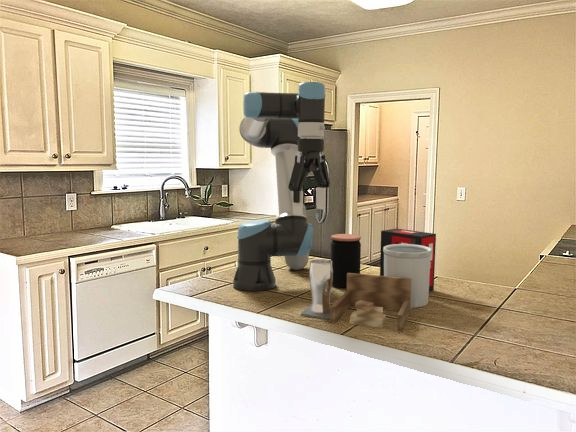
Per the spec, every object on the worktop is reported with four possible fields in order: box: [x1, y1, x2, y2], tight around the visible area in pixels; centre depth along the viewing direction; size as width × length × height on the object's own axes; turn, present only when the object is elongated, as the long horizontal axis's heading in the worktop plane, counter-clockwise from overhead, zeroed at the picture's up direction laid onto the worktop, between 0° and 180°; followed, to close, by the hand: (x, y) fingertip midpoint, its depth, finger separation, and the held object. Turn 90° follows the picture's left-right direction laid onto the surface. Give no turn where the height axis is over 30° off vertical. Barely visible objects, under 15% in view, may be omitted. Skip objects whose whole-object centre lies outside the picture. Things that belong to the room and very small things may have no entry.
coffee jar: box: [330, 233, 362, 290], centre depth 170 cm, size 11×11×18 cm
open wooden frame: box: [330, 273, 411, 333], centre depth 136 cm, size 19×19×10 cm
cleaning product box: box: [379, 227, 437, 293], centre depth 167 cm, size 16×9×20 cm, turn 41°
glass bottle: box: [284, 203, 310, 271], centre depth 194 cm, size 10×10×28 cm
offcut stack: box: [349, 300, 387, 329], centre depth 131 cm, size 9×5×6 cm, turn 69°
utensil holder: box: [383, 244, 432, 309], centre depth 150 cm, size 15×15×18 cm
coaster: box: [300, 304, 331, 320], centre depth 140 cm, size 9×9×1 cm
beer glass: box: [308, 258, 333, 314], centre depth 139 cm, size 7×7×15 cm
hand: (309, 211), depth 138 cm, fingers open, 13 cm apart
